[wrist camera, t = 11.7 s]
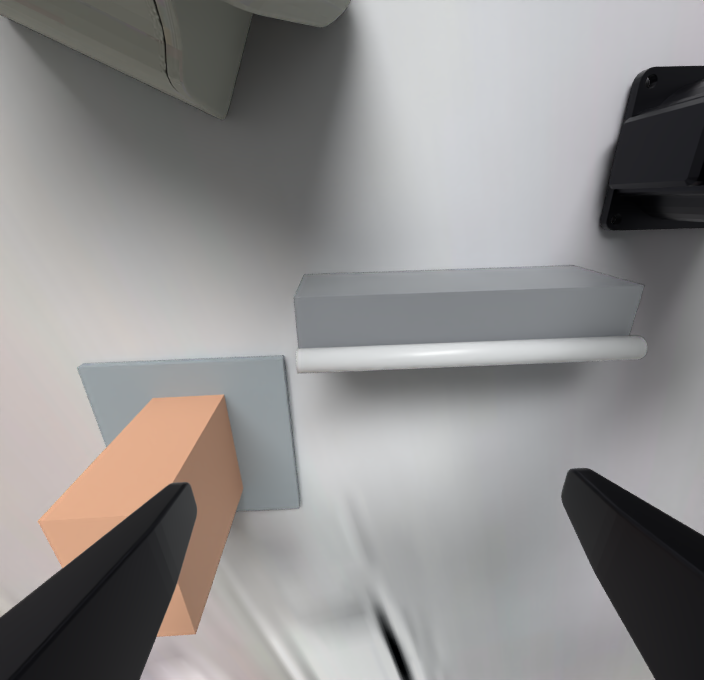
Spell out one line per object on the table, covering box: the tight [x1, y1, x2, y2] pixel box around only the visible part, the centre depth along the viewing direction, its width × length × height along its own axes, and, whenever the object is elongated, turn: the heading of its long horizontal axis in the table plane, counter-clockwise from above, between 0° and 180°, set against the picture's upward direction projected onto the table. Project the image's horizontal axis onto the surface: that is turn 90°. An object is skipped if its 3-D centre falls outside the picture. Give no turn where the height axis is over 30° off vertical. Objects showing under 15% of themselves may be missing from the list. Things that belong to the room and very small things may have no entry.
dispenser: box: [294, 265, 647, 373], centre depth 16 cm, size 14×3×6 cm, turn 91°
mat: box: [77, 356, 300, 511], centre depth 21 cm, size 11×11×1 cm
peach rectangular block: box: [38, 395, 243, 637], centre depth 17 cm, size 4×7×8 cm, turn 2°
